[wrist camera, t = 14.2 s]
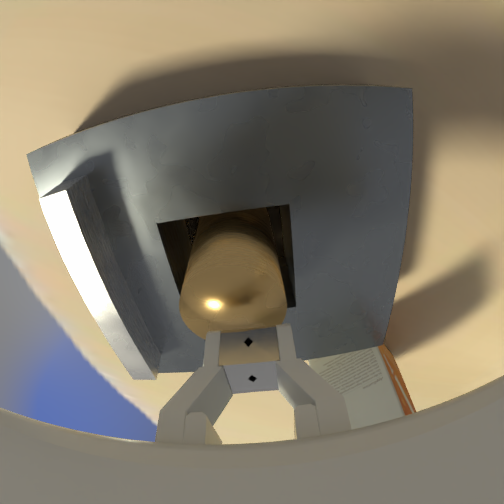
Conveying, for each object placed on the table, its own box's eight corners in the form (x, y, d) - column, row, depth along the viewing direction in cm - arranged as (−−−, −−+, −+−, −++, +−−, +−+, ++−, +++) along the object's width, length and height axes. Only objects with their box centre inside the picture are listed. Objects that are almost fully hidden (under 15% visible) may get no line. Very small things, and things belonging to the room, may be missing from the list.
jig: (368, 84, 14) (437, 92, 8) (361, 299, 23) (392, 367, 17) (72, 133, 15) (2, 167, 9) (143, 325, 23) (124, 394, 17)
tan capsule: (265, 185, 17) (283, 258, 11) (272, 248, 20) (289, 339, 13) (193, 196, 18) (165, 273, 11) (207, 256, 20) (194, 349, 13)
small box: (393, 353, 27) (435, 461, 16) (341, 381, 29) (368, 489, 18) (365, 314, 24) (419, 452, 12) (303, 349, 25) (329, 486, 14)
